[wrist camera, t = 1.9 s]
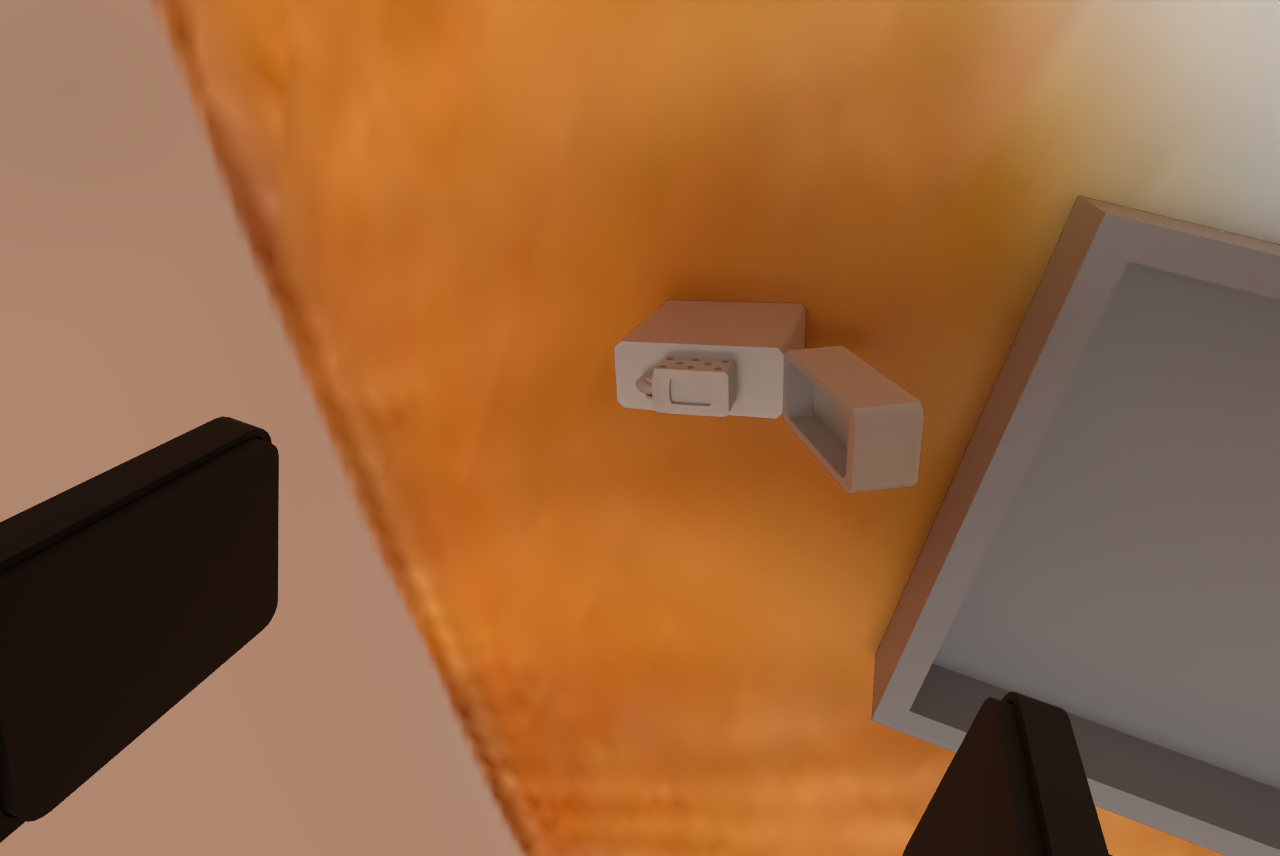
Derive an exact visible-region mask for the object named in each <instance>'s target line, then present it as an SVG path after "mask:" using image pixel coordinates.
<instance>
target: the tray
mask: <svg viewBox="0 0 1280 856" xmlns="http://www.w3.org/2000/svg"><path fill="white" fill-rule="evenodd" d="M1012 691H1014V692H1017V693H1020V694H1023V695H1025V696H1028V697H1031V698H1034V699H1037V700H1040V701H1043V702H1045V703H1048V704H1051V705H1054V706H1057V707H1060V708H1062V709H1064V710H1065V711H1066V712H1067V714H1068V716H1069V718H1070V722H1071V725H1072V729H1073V732H1074V736H1075V739H1076V743H1077V746H1078V749H1079V753H1080V756H1081V760H1082V763H1083V767H1084V770H1085V774H1086V777H1087V781H1088V784H1089V788H1090V791H1091V795H1092V798H1093V801H1094V805H1095V806H1097V807H1100V808H1102V809H1105V810H1107V811H1110V812H1113V813H1115V814H1118V815H1121V816H1123V817H1126V818H1128V819H1131V820H1134V821H1136V822H1139V823H1142V824H1144V825H1147V826H1149V827H1152V828H1155V829H1157V830H1160V831H1163V832H1165V833H1168V834H1170V835H1173V836H1176V837H1178V838H1181V839H1184V840H1186V841H1189V842H1191V843H1194V844H1197V845H1199V846H1202V847H1205V848H1207V849H1210V850H1212V851H1215V852H1218V853H1220V854H1223V855H1226V856H1280V245H1278V244H1274V243H1270V242H1266V241H1262V240H1258V239H1254V238H1250V237H1246V236H1242V235H1238V234H1233V233H1229V232H1225V231H1221V230H1217V229H1213V228H1209V227H1205V226H1201V225H1197V224H1192V223H1188V222H1184V221H1180V220H1176V219H1172V218H1168V217H1164V216H1160V215H1156V214H1151V213H1147V212H1143V211H1139V210H1135V209H1131V208H1127V207H1123V206H1119V205H1115V204H1110V203H1106V202H1102V201H1098V200H1094V199H1090V198H1086V197H1082V196H1078V198H1077V200H1076V202H1075V204H1074V207H1073V209H1072V211H1071V214H1070V216H1069V218H1068V220H1067V223H1066V225H1065V227H1064V229H1063V232H1062V234H1061V236H1060V238H1059V241H1058V243H1057V245H1056V247H1055V250H1054V252H1053V254H1052V257H1051V259H1050V261H1049V263H1048V266H1047V268H1046V270H1045V272H1044V275H1043V277H1042V279H1041V281H1040V284H1039V286H1038V288H1037V290H1036V293H1035V295H1034V297H1033V300H1032V302H1031V304H1030V306H1029V309H1028V311H1027V313H1026V315H1025V318H1024V320H1023V322H1022V324H1021V327H1020V329H1019V331H1018V334H1017V336H1016V338H1015V340H1014V343H1013V345H1012V347H1011V349H1010V352H1009V354H1008V356H1007V358H1006V361H1005V363H1004V365H1003V367H1002V370H1001V372H1000V374H999V377H998V379H997V381H996V383H995V386H994V388H993V390H992V392H991V395H990V397H989V399H988V401H987V404H986V406H985V408H984V410H983V413H982V415H981V417H980V420H979V422H978V424H977V426H976V429H975V431H974V433H973V435H972V438H971V440H970V442H969V444H968V447H967V449H966V451H965V453H964V456H963V458H962V460H961V463H960V465H959V467H958V469H957V472H956V474H955V476H954V478H953V481H952V483H951V485H950V487H949V490H948V492H947V494H946V497H945V499H944V501H943V503H942V506H941V508H940V510H939V512H938V515H937V517H936V519H935V521H934V524H933V526H932V528H931V530H930V533H929V535H928V537H927V540H926V542H925V544H924V546H923V549H922V551H921V553H920V555H919V558H918V560H917V562H916V564H915V567H914V569H913V571H912V573H911V576H910V578H909V580H908V583H907V585H906V587H905V589H904V592H903V594H902V596H901V598H900V601H899V603H898V605H897V607H896V610H895V612H894V614H893V617H892V619H891V621H890V623H889V626H888V628H887V630H886V632H885V635H884V637H883V639H882V641H881V644H880V646H879V648H878V650H877V653H876V655H875V671H874V687H873V704H872V720H871V721H874V722H876V723H879V724H881V725H884V726H887V727H889V728H892V729H895V730H897V731H900V732H902V733H905V734H908V735H910V736H913V737H916V738H918V739H921V740H923V741H926V742H929V743H931V744H934V745H937V746H939V747H942V748H945V749H947V750H950V751H952V752H955V753H956V752H957V751H958V749H959V747H960V745H961V743H962V741H963V739H964V738H965V736H966V734H967V732H968V730H969V728H970V726H971V724H972V723H973V721H974V719H975V717H976V715H977V713H978V711H979V709H980V708H981V706H982V704H983V703H984V701H985V700H986V699H987V698H989V697H992V698H995V699H998V700H1002V699H1003V697H1004V696H1005V695H1006V694H1007V693H1008V692H1012Z"/></svg>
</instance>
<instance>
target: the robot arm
mask: <svg viewBox="0 0 1280 856" xmlns="http://www.w3.org/2000/svg"><path fill="white" fill-rule="evenodd" d="M278 480H279V455H278V450H277V448H276V446H274V445H273V444H272V443H271V438H270V436H269V434H268V433H267V432H266V431H265V430H263V429H261V428H258V427H255V426H252V425H250V424H247V423H244V422H241V421H238V420H235V419H232V418H230V417H220V418H216V419H214V420H212V421H209V422H207V423H205V424H203V425H201V426H199V427H197V428H195V429H193V430H191V431H189V432H187V433H185V434H183V435H180V436H178V437H176V438H174V439H172V440H170V441H168V442H166V443H164V444H162V445H160V446H158V447H156V448H154V449H151V450H149V451H147V452H145V453H143V454H141V455H139V456H137V457H135V458H133V459H131V460H129V461H127V462H124V463H122V464H120V465H118V466H116V467H114V468H112V469H110V470H108V471H106V472H104V473H102V474H100V475H98V476H95V477H94V478H91V479H89V480H87V481H85V482H83V483H81V484H79V485H77V486H75V487H73V488H71V489H69V490H66V491H65V492H62V493H60V494H58V495H56V496H54V497H52V498H50V499H48V500H46V501H44V502H42V503H40V504H37V505H35V506H33V507H31V508H29V509H28V510H25V511H23V512H21V513H19V514H17V515H15V516H13V517H11V518H9V519H7V520H4V521H2V522H0V842H2V841H3V840H4V839H5V838H6V837H8V836H9V835H10V834H11V833H12V832H14V831H15V830H16V829H17V828H18V827H19V826H21V825H22V824H23V823H24V822H25V821H27V822H29V821H35V820H37V819H39V818H41V817H43V816H45V815H46V814H48V813H49V812H50V811H52V810H53V809H54V808H55V807H56V806H58V805H59V804H60V803H61V802H62V801H63V800H64V799H65V798H67V797H68V796H69V795H70V794H71V793H73V792H74V791H75V790H76V789H77V788H79V787H80V786H81V785H82V784H83V783H84V782H86V781H87V780H88V779H89V778H90V777H91V776H92V775H94V774H95V773H96V772H97V771H98V770H100V769H101V768H102V767H103V766H104V765H105V764H107V763H108V762H109V761H110V760H111V759H112V758H114V756H116V755H117V754H118V753H119V752H121V751H122V750H123V749H124V748H125V747H126V746H128V745H129V744H130V743H131V742H132V741H133V740H135V739H136V738H137V737H138V736H139V735H140V734H142V733H143V732H144V731H145V730H146V729H147V728H149V727H150V726H151V725H152V724H153V723H154V722H156V721H157V720H158V719H159V718H160V717H161V716H163V715H164V714H165V713H166V712H167V711H169V709H171V708H172V707H173V706H174V705H175V704H177V703H178V702H179V701H180V700H181V699H183V698H184V697H185V696H186V695H187V694H188V693H189V692H191V691H192V690H193V689H194V688H195V687H197V686H198V685H199V684H200V683H201V682H202V681H204V680H205V679H206V678H207V677H208V676H209V675H210V674H212V673H213V672H214V671H215V670H216V669H218V668H219V667H220V666H221V665H222V664H223V663H225V662H226V661H227V660H228V659H229V658H230V657H232V656H233V655H234V654H235V653H236V652H237V651H238V650H240V649H241V648H242V647H243V646H244V645H246V644H247V643H248V642H249V641H250V640H251V639H253V638H254V637H255V636H256V635H257V634H258V633H260V632H261V631H262V630H263V629H264V628H265V627H266V626H267V625H268V624H269V622H270V621H271V619H272V617H273V615H274V613H275V611H276V608H277V603H278V485H279V483H278V482H279V481H278ZM903 856H1112V855H1109V854H1108V850H1107V847H1106V843H1105V840H1104V836H1103V833H1102V829H1101V826H1100V822H1099V819H1098V815H1097V812H1096V808H1095V805H1094V801H1093V798H1092V795H1091V791H1090V788H1089V784H1088V781H1087V777H1086V774H1085V770H1084V767H1083V763H1082V760H1081V756H1080V753H1079V749H1078V746H1077V743H1076V739H1075V736H1074V732H1073V729H1072V725H1071V722H1070V718H1069V716H1068V714H1067V712H1066V711H1065V710H1064V709H1062V708H1060V707H1057V706H1054V705H1051V704H1048V703H1045V702H1043V701H1040V700H1037V699H1034V698H1031V697H1028V696H1025V695H1023V694H1020V693H1017V692H1014V691H1012V692H1008V693H1007V694H1006V695H1005V696H1004V697H1003V699H1002V700H998V699H995V698H992V697H989V698H987V699H986V700H985V701H984V703H983V704H982V706H981V708H980V709H979V711H978V713H977V715H976V717H975V719H974V721H973V723H972V724H971V726H970V728H969V730H968V732H967V734H966V736H965V738H964V739H963V741H962V743H961V745H960V747H959V749H958V751H957V752H956V754H955V756H954V758H953V760H952V762H951V764H950V766H949V767H948V769H947V771H946V773H945V775H944V777H943V779H942V780H941V782H940V784H939V786H938V788H937V790H936V792H935V794H934V795H933V797H932V799H931V801H930V803H929V805H928V807H927V809H926V810H925V812H924V814H923V816H922V818H921V820H920V822H919V823H918V825H917V827H916V829H915V831H914V833H913V835H912V837H911V838H910V840H909V842H908V844H907V846H906V848H905V850H904V853H903Z"/></svg>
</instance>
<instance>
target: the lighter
mask: <svg viewBox="0 0 1280 856" xmlns="http://www.w3.org/2000/svg"><path fill="white" fill-rule="evenodd" d="M805 337H806V309H805V308H804V307H803V306H802V305H801V304H797V303H760V302H723V301H686V300H667V301H666V302H665V303H664V304H663V305H662V306H660V307H659V308H658V309H657V310H656V311H655V312H654V313H652V314H651V315H650V316H649V317H648V318H647V319H645V320H644V321H643V322H642V323H641V324H640V325H639V326H637V327H636V328H635V329H634V330H633V331H632V332H630V333H629V334H628V335H627V336H626V337H625V338H624V339H622V340H621V341H620V342H619V343H618V344H617V345H616V346H615V347H614V354H615V370H616V387H617V401H618V402H619V403H620V404H621V405H622V406H623V407H624V408H632V409H646V410H655V411H656V413H670V414H684V415H698V416H713V417H726V416H727V415H733V416H747V417H761V418H777V417H778V416H780V415H781V414H782V413H783V416H784V421H785V423H786V424H787V425H788V426H789V427H790V428H791V429H792V431H793V432H794V433H795V434H796V435H797V436H798V438H799V439H800V440H801V441H802V442H803V443H804V444H805V446H806V447H807V448H808V449H809V450H810V451H811V453H812V454H813V455H814V456H815V457H816V458H817V459H818V461H819V462H820V463H821V464H822V465H823V466H824V468H825V469H826V470H827V471H828V472H829V473H830V474H831V476H832V477H833V478H834V479H835V480H836V481H837V483H838V484H839V485H840V486H841V487H842V488H843V489H844V491H845V492H846V493H847V494H848V493H857V492H866V491H875V490H884V489H893V488H902V487H911V486H914V485H915V484H916V483H917V482H918V474H919V464H920V454H921V443H922V433H923V423H924V411H923V408H922V404H921V402H920V401H919V400H918V399H916V398H915V397H913V396H912V395H911V394H909V393H908V392H906V391H905V390H904V389H902V388H901V387H899V386H898V385H897V384H895V383H894V382H892V381H891V380H890V379H888V378H887V377H886V376H884V375H883V374H881V373H880V372H879V371H877V370H876V369H874V368H873V367H872V366H870V365H869V364H867V363H866V362H865V361H863V360H862V359H861V358H859V357H858V356H856V355H855V354H854V353H852V352H851V351H849V350H848V349H847V348H845V347H844V346H831V347H820V348H809V349H805Z"/></svg>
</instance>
